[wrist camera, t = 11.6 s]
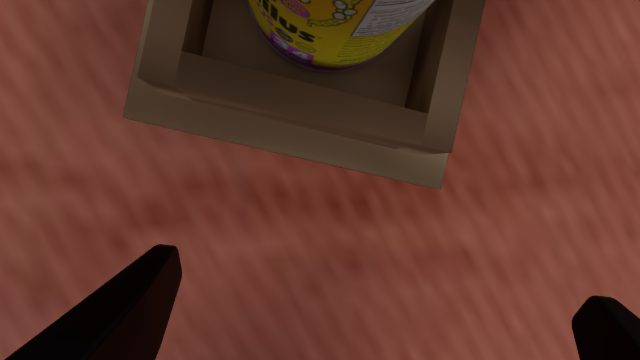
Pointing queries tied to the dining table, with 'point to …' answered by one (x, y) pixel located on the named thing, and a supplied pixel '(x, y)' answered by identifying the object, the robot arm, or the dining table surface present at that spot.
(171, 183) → the dining table surface
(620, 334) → the robot arm
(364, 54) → the supplement bottle
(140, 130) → the dining table surface
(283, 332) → the dining table surface
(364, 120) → the walnut collar
